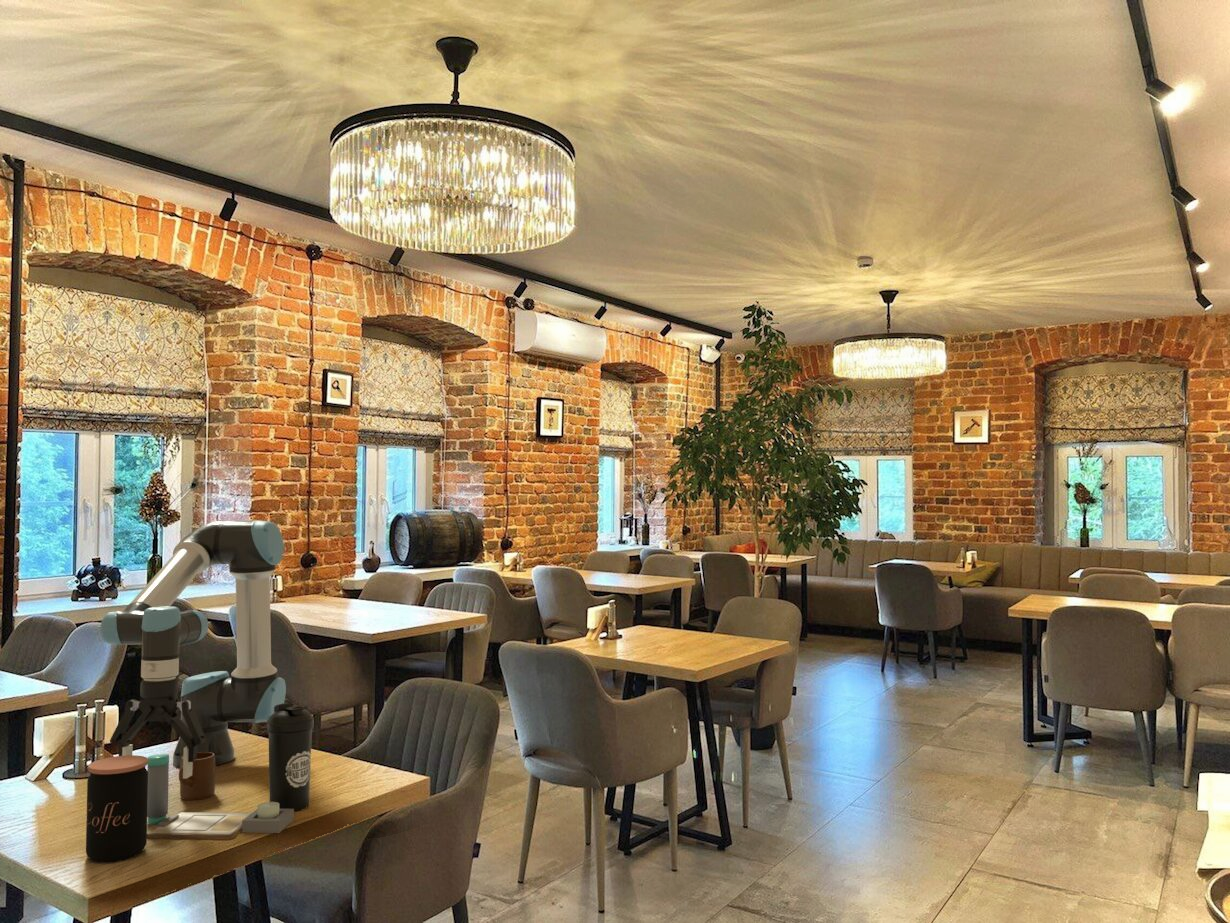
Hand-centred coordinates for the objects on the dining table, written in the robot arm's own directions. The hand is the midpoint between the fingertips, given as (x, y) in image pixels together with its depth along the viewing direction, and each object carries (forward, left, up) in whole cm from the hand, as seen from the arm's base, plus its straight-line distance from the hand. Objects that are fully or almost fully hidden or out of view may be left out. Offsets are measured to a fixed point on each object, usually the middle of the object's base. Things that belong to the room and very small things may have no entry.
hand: (157, 776), depth 207 cm
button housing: (+2, +26, -10) cm, 27 cm away
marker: (0, 0, -10) cm, 10 cm away
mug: (-16, 0, -10) cm, 19 cm away
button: (+2, +26, -8) cm, 27 cm away
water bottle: (-11, +25, -10) cm, 29 cm away
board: (+3, +12, -10) cm, 16 cm away
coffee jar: (+19, +2, -10) cm, 21 cm away
